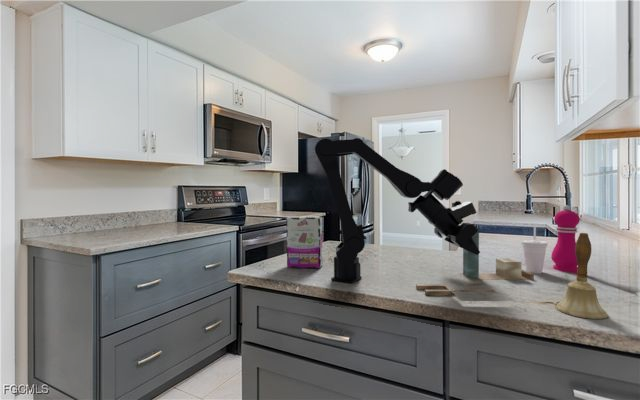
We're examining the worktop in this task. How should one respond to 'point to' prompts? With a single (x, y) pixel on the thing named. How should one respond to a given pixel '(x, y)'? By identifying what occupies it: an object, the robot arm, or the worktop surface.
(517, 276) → the maple block
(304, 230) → the candy bar box
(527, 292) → the worktop surface
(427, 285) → the broken lane
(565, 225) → the pepper mill
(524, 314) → the worktop surface
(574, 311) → the hand bell
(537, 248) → the smoothie
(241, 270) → the worktop surface
